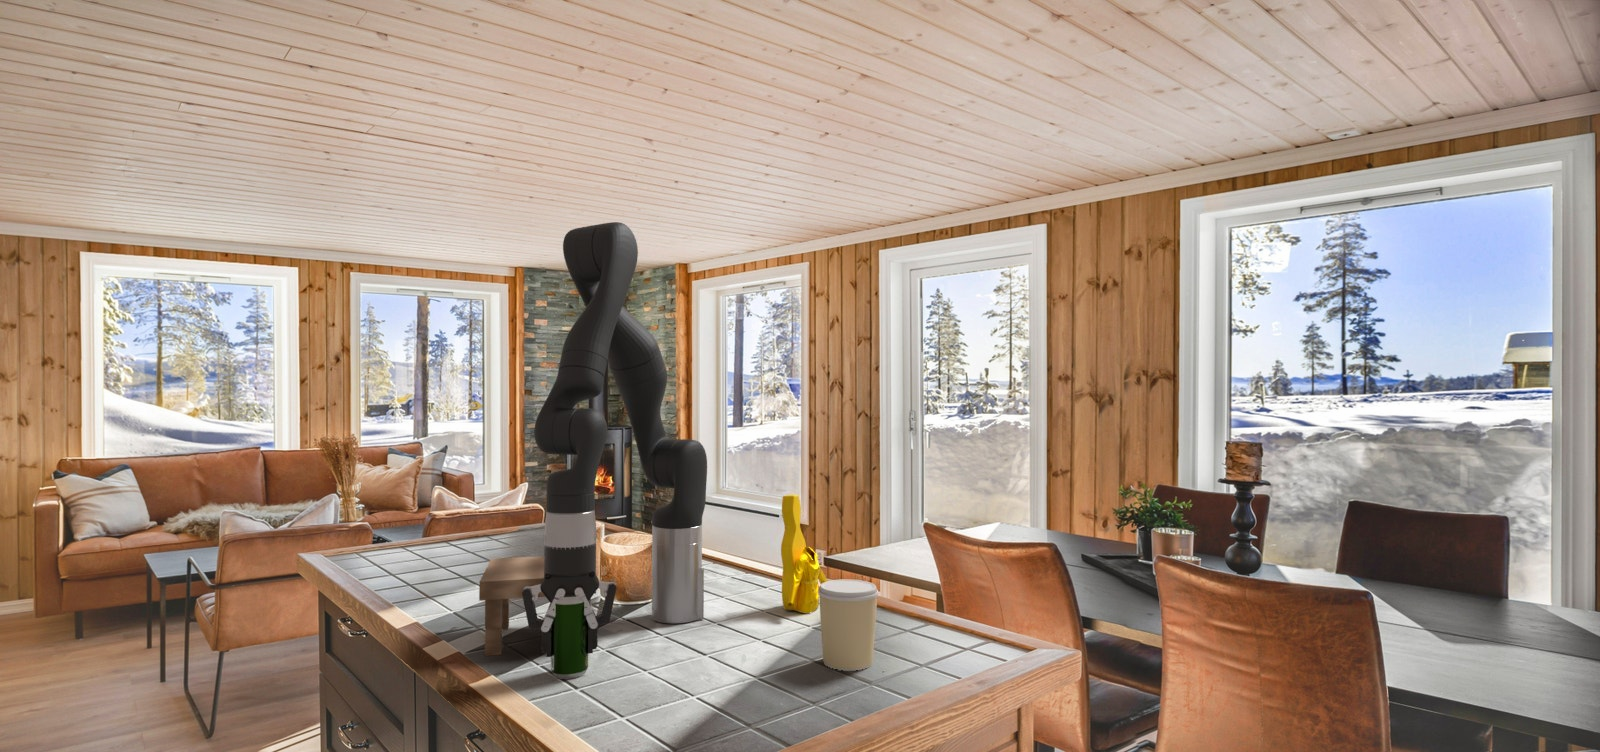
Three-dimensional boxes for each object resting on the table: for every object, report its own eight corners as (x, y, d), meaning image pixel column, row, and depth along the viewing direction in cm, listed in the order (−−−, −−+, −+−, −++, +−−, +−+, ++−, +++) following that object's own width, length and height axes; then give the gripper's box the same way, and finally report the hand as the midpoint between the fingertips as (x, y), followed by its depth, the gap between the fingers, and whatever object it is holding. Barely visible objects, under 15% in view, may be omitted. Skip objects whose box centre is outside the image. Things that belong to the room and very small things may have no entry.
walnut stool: (593, 618, 152) (594, 553, 152) (595, 648, 134) (596, 575, 135) (490, 625, 147) (491, 558, 147) (478, 657, 130) (479, 581, 130)
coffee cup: (884, 656, 131) (884, 581, 131) (869, 676, 122) (869, 595, 122) (828, 650, 134) (828, 576, 134) (810, 669, 125) (810, 590, 125)
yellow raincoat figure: (800, 623, 149) (800, 502, 150) (761, 618, 153) (762, 500, 153) (836, 600, 165) (836, 491, 166) (801, 596, 169) (801, 489, 169)
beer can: (557, 682, 119) (557, 599, 119) (546, 671, 123) (547, 591, 124) (593, 675, 122) (593, 594, 122) (581, 664, 126) (581, 587, 127)
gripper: (618, 534, 128) (617, 642, 128) (521, 538, 125) (520, 649, 124) (620, 543, 121) (619, 657, 121) (518, 547, 118) (517, 666, 117)
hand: (569, 653), depth 123 cm, fingers closed on beer can, 5 cm apart
